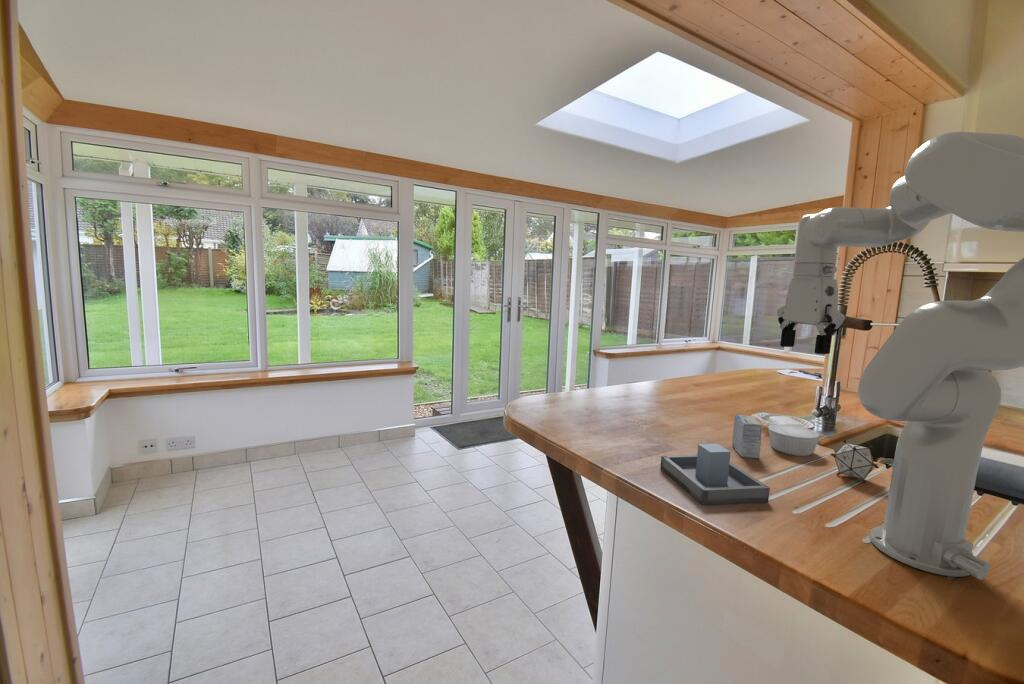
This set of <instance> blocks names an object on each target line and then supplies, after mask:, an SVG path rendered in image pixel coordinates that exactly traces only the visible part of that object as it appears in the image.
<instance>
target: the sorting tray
mask: <svg viewBox="0 0 1024 684" xmlns="http://www.w3.org/2000/svg"><path fill="white" fill-rule="evenodd" d="M696 463H697V454H684V455H683V454H681V455H679V454H678V455H677V454H675V455H661V459H660V470H661V471H663V472H664V474H666V475H667V476H668V477H670V478H671V479H672V480H673V481H674V482H675V483H677V484H678V486H680V487H681V488H682V489H683V490H685V491H686V493H688V494H689V495H690V496H691V497H692V498H694V499H695V500H696V501H697V502H698V503H699V504H700V505H701V506H713V505H735V504H752V503H753V504H757V503H768V502H769V500H770V499H769V497H770V486H768V485H766V484H765V483H763V482H762V481H760V480H758V478H755V477H754V476H753V475H752V474H750V473H748V472H746V471H745V470H743V469H742V468H740V467H738V466H737V465H735V464H734V463H733V462H731V461H730V463H729V472H728V482H727V484H714V485H707V484H706V483H704V482H703V481H702V480H701V479H699V478H698V477H697V476H695V474H696Z"/></svg>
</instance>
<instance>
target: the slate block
mask: <svg viewBox="0 0 1024 684" xmlns="http://www.w3.org/2000/svg"><path fill="white" fill-rule="evenodd" d="M696 453H697V454H696V455H697V463H696V474H695V476H697V477H698V478H699V479H701V480H702V481H703V482H704V483H706V484H707V485H714V484H727V482H728V472H729V463H730V462H731V451H730V450H728V449H726V448H725V447H723V446H722V445H720V444H718V443H701V444H700V443H699V444H698V443H697V452H696Z"/></svg>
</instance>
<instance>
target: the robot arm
mask: <svg viewBox="0 0 1024 684" xmlns="http://www.w3.org/2000/svg"><path fill="white" fill-rule="evenodd" d="M904 169H905V170H904V175H903V176H901V177H900V178H899V179H897V180H896V182H895V183H894V184H893V185H892V187H891V189H890V192H889V198H888V199H889V206H887V207H883V208H873V207H872V208H871V207H847V206H845V207H844V206H834V207H830V208H827V209H826V208H825V209H824V210H822V211H820V212H818V213H810V214H805V215H803V216H802V217H801V218H800V220H799V223H798V229H797V238H796V244H795V245H796V246H795V255H794V256H795V257H794V264H793V271H792V278H791V280H790V283H789V285H788V288H787V289H788V290H787V293H786V294H787V295H786V299H785V302H784V303H785V304H784V305H782V306H781V307H780V308H778V309H776V314H777V320H778V323H779V324H780V326H779V327H780V330H781V336H780V345H779V346H780V347H781V348H782V347H783V348H793V347H794V346H795V342H796V334H797V330H796V329H795V328H796V327H797V325H798V324H799V325H800V324H802V325H811V326H815V327H816V330H817V331H818V333H819V334H816V337H815V346H814V353H815V354H816V355H817V354H818V355H829V354H830V353H831V345H832V338H833V336H835V335H836V332H837V331H839V330H840V329H841V325H842V324H843V323H844V321H845V319H846V315H844V314H843V313H842V312H840V311H839V310H838V306H839V305H838V304H839V288H838V280H837V279H836V278H835V273H837V271H838V268H837V266H836V263H837V256H838V255H837V254H838V248H839V247H844V248H845V247H846V248H847V247H848V248H849V247H853V248H879V247H880V248H881V247H884V246H889V245H892V244H895V243H899V242H901V241H904V240H907V239H911V238H913V237H914V236H916V235H918V234H920V233H921V232H922V231H923V230H925V228H927V226H928V225H929V224H930V222H931V221H933V220H936V219H938V218H942V217H945V216H946V215H949V214H951V215H954V216H956V217H958V218H960V219H962V220H964V221H966V222H968V223H970V224H973V225H975V226H978V227H981V228H983V229H987V230H992V231H1001V232H1018V233H1019V232H1020V233H1024V137H1022V136H1021V137H1020V136H1019V135H1013V134H1009V133H1007V134H1004V133H989V132H969V131H951V132H945V133H943V134H939V135H937V136H934V137H933V138H931V139H929V140H927V141H926V142H925V143H923V144H922V145H920V146H919V147H918V148H917V149H915V151H914V152H913V153H912V155H911V156H910V158H909V160H908V161H907V163H906V167H905V168H904ZM834 278H835V279H834ZM1022 367H1024V257H1021V259H1019V260H1017V262H1016V263H1014V264H1013V265H1012V266H1011V267H1010V268H1009V269H1008V270H1006V272H1005V273H1004V274H1003V275H1002V277H1001V278H1000V280H998V282H997V283H995V285H994V286H993V287H992V288H990V290H988V292H987V293H985V294H984V295H983V296H981V297H980V298H979V297H978V298H977V299H974V300H958V299H957V300H956V299H955V300H953V299H952V300H949V299H948V300H939V301H933V302H929V303H926V304H924V305H922V306H920V307H917V308H916V309H914V310H913V311H911V312H910V313H909V314H908V315H906V316H905V317H904V318H903V319H902V320H901V321H900V323H899V324H898V325H897V327H895V329H894V330H893V332H892V333H891V334H890V335H889V337H888V338H887V339H886V340H885V342H884V343H883V345H881V347H880V348H879V349H878V351H877V352H876V353H875V355H873V357H872V359H871V360H870V361H869V363H868V364H867V366H866V367H865V369H863V371H862V374H861V375H860V379H859V383H858V387H857V389H858V390H857V392H858V394H857V395H858V399H859V401H860V403H861V405H862V407H863V408H864V409H865V410H866V411H868V413H870V415H873V416H874V417H876V418H879V419H882V420H886V421H893V422H906V423H905V425H904V426H903V428H902V429H901V431H900V434H899V436H898V439H897V443H896V446H895V447H896V448H895V451H894V458H893V463H892V464H893V465H892V471H891V477H890V484H889V489H888V490H889V491H888V496H887V502H886V503H887V504H886V510H885V516H884V521H883V525H878V526H874V527H873V528H871V530H870V533H869V538H870V541H871V543H872V544H873V545H874V546H875V548H877V549H879V551H881V552H882V553H884V554H886V556H888V557H890V558H892V559H893V560H896V561H898V562H899V563H900V562H901V563H902V564H904V565H907V566H909V567H912V568H915V569H917V570H921V571H924V572H927V573H931V574H936V575H940V576H944V577H945V576H946V577H953V578H955V577H956V578H957V577H959V578H963V577H968V576H972V577H974V578H976V579H978V580H982V581H983V580H984V579H985V578H987V576H988V574H989V571H990V570H991V568H992V564H991V563H990V562H988V561H986V560H984V559H983V558H980V557H979V556H976V555H974V553H973V546H974V543H973V542H971V541H970V540H968V539H966V535H967V530H968V526H969V525H968V524H969V519H970V514H971V510H972V509H971V507H972V502H973V497H974V492H975V487H976V486H975V485H976V480H977V474H978V471H979V466H980V461H981V458H982V457H981V456H982V452H983V448H984V444H985V440H986V437H987V435H988V432H989V430H990V427H991V426H992V424H993V422H994V420H995V418H996V415H997V413H998V411H999V409H1000V406H1001V401H1002V389H1001V385H1000V383H999V381H998V379H997V378H996V377H995V375H993V374H992V372H990V371H1010V370H1014V369H1019V368H1022Z"/></svg>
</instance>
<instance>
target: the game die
mask: <svg viewBox="0 0 1024 684" xmlns="http://www.w3.org/2000/svg"><path fill="white" fill-rule="evenodd" d="M842 442H843V444H842V446H840V448H839V449H838V450H837V451H836V452H835V453H829V454H830V456H831V457H833V458H834V460H835V464H836V468H837V470H838V473H836V477H838V476H841V475H845V476H848V477H852V478H855V479H856V478H857V479H860V480H862V482H863V483H864V482H865V483H866V484H867V480H866V478H867V477H868V476H869V474H870V473H871V472H872V471H873V470H874V469H880V467H879V466H878V464H877V463H875V461H874V457H873V455H872V451H871V449H873V445H869V446H868V447H866V446H862V445H857V444H854V443H849V442H847V440H846V439H842ZM865 483H864V484H865Z"/></svg>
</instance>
